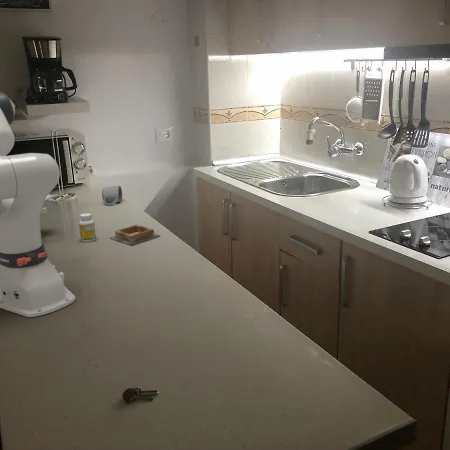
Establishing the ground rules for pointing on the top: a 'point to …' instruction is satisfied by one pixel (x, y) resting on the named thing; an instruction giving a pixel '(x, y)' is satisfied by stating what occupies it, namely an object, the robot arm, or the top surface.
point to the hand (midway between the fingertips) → (52, 206)
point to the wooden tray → (134, 235)
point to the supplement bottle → (87, 228)
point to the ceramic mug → (112, 195)
